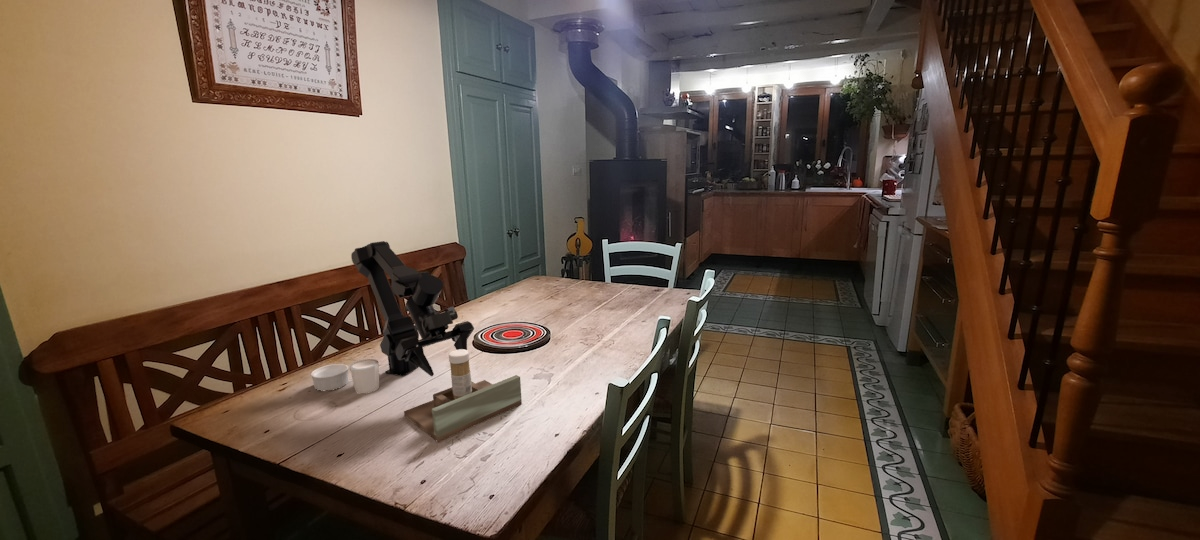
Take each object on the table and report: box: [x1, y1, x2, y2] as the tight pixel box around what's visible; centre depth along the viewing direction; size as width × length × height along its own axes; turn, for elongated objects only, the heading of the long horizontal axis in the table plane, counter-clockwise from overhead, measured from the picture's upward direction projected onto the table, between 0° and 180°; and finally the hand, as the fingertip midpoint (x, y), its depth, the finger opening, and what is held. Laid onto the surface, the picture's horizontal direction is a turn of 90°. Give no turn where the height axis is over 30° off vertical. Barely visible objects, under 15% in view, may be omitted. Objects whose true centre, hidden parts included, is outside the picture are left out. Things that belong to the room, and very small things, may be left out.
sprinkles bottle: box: [448, 349, 472, 400], centre depth 115 cm, size 5×5×13 cm
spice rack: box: [403, 374, 523, 443], centre depth 116 cm, size 16×22×7 cm
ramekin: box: [310, 363, 350, 392], centre depth 130 cm, size 9×9×4 cm
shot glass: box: [349, 358, 380, 394], centre depth 127 cm, size 7×7×7 cm
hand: (450, 369), depth 118 cm, fingers open, 9 cm apart
